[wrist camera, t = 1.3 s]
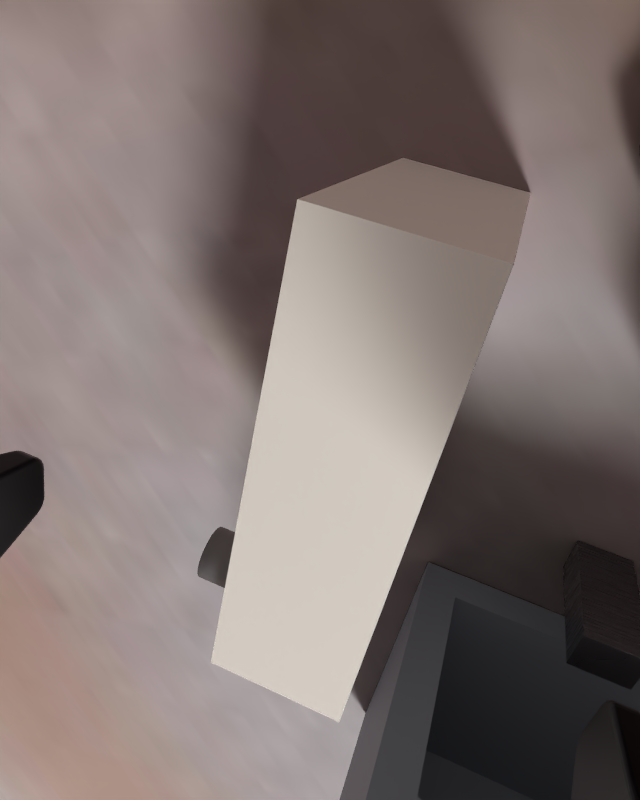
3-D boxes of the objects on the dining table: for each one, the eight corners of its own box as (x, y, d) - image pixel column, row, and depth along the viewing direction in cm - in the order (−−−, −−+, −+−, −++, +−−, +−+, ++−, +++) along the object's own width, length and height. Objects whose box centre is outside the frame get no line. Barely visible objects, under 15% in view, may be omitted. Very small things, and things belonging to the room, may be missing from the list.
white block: (363, 146, 14) (231, 179, 8) (530, 192, 14) (513, 263, 8) (287, 476, 19) (170, 643, 13) (407, 523, 19) (339, 722, 13)
